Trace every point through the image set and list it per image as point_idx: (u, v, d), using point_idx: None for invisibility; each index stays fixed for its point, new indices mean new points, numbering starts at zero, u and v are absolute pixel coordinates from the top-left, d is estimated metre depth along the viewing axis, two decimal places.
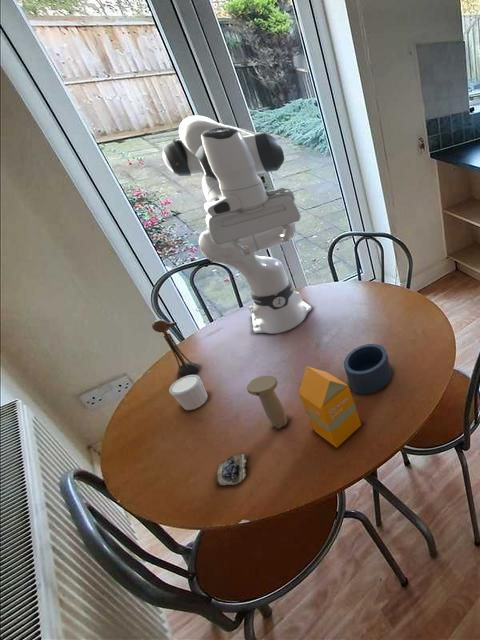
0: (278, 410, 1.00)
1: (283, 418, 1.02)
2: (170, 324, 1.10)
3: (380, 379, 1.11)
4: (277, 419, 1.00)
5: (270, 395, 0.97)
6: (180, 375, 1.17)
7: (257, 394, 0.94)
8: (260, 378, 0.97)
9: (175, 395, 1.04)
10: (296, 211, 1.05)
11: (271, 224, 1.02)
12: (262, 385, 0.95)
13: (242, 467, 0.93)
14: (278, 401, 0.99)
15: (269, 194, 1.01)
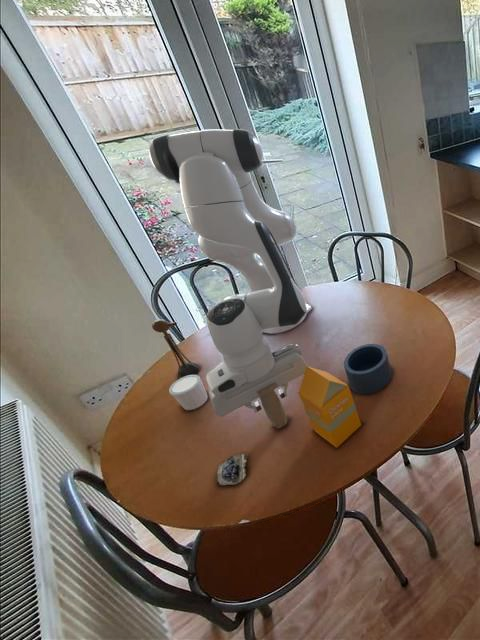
0: (278, 410, 1.00)
1: (283, 418, 1.02)
2: (170, 324, 1.10)
3: (380, 379, 1.11)
4: (277, 419, 1.00)
5: (270, 395, 0.97)
6: (180, 375, 1.17)
7: None
8: None
9: (175, 395, 1.04)
10: (303, 365, 1.00)
11: (277, 384, 0.97)
12: None
13: (242, 467, 0.93)
14: (278, 401, 0.99)
15: (276, 355, 0.95)
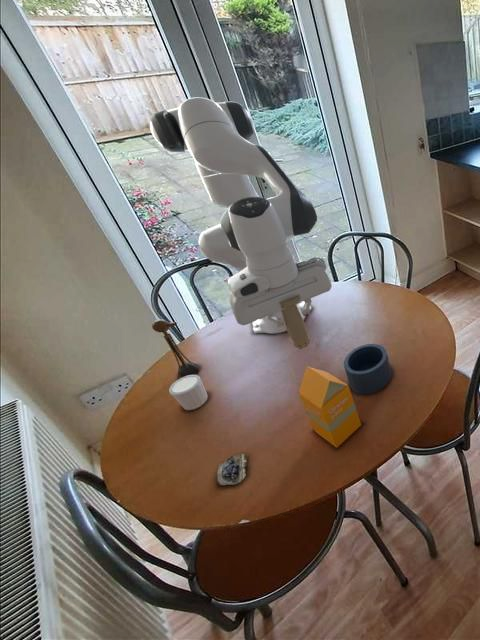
0: (301, 328, 0.95)
1: (305, 338, 0.97)
2: (170, 324, 1.10)
3: (380, 379, 1.11)
4: (299, 338, 0.95)
5: (293, 310, 0.92)
6: (180, 375, 1.17)
7: None
8: None
9: (175, 395, 1.04)
10: (327, 281, 0.95)
11: (300, 298, 0.92)
12: None
13: (242, 467, 0.93)
14: (301, 318, 0.94)
15: (300, 266, 0.90)
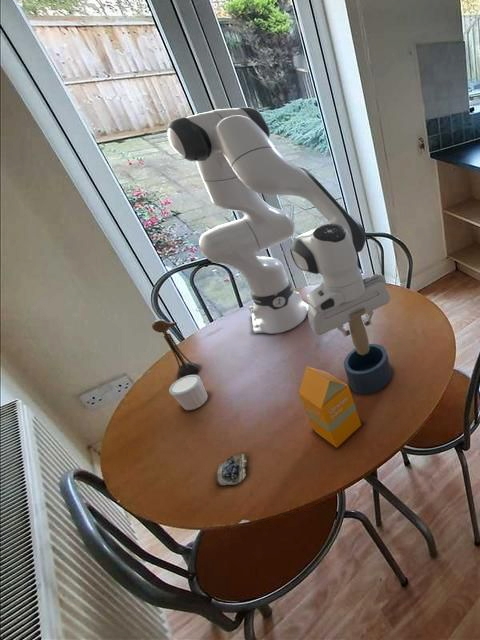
0: (364, 337, 1.07)
1: (367, 345, 1.09)
2: (170, 324, 1.10)
3: (380, 379, 1.11)
4: (362, 345, 1.07)
5: (359, 321, 1.04)
6: (180, 375, 1.17)
7: None
8: None
9: (175, 395, 1.04)
10: (387, 295, 1.07)
11: (365, 310, 1.04)
12: None
13: (242, 467, 0.93)
14: (364, 328, 1.07)
15: (365, 282, 1.02)
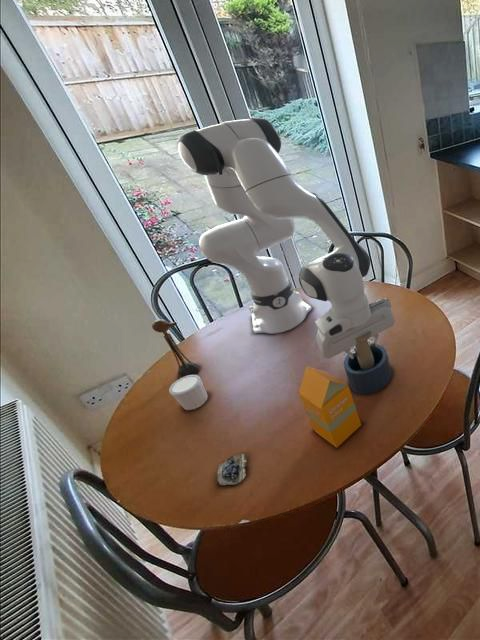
0: (370, 359, 1.11)
1: (373, 366, 1.13)
2: (170, 324, 1.10)
3: (380, 379, 1.11)
4: (368, 366, 1.12)
5: (365, 344, 1.08)
6: (180, 375, 1.17)
7: None
8: None
9: (175, 395, 1.04)
10: (392, 318, 1.11)
11: (371, 333, 1.08)
12: None
13: (242, 467, 0.93)
14: (370, 350, 1.11)
15: (371, 307, 1.07)
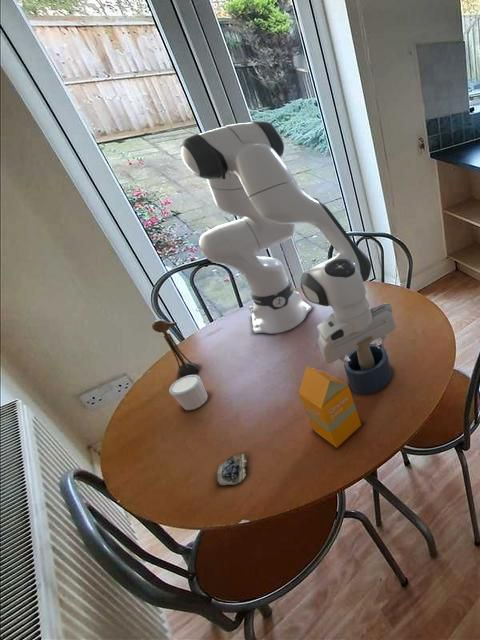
0: (371, 363, 1.12)
1: None
2: (170, 324, 1.10)
3: (380, 379, 1.11)
4: None
5: (366, 348, 1.09)
6: (180, 375, 1.17)
7: None
8: None
9: (175, 395, 1.04)
10: (393, 323, 1.12)
11: None
12: None
13: (242, 467, 0.93)
14: (371, 354, 1.12)
15: (373, 311, 1.07)
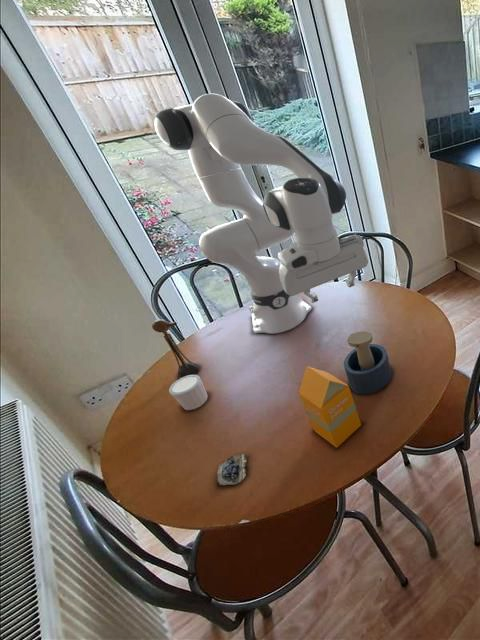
0: (371, 363, 1.12)
1: None
2: (170, 324, 1.10)
3: (380, 379, 1.11)
4: None
5: (366, 348, 1.09)
6: (180, 375, 1.17)
7: (357, 346, 1.07)
8: (357, 333, 1.09)
9: (175, 395, 1.04)
10: (365, 258, 1.03)
11: (341, 272, 0.99)
12: (360, 339, 1.07)
13: (242, 467, 0.93)
14: (371, 354, 1.12)
15: (341, 242, 0.98)
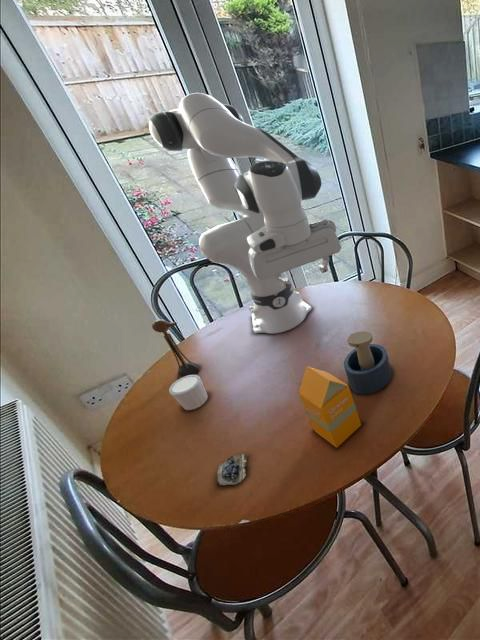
0: (371, 363, 1.12)
1: None
2: (170, 324, 1.10)
3: (380, 379, 1.11)
4: None
5: (366, 348, 1.09)
6: (180, 375, 1.17)
7: (357, 346, 1.07)
8: (357, 333, 1.09)
9: (175, 395, 1.04)
10: (337, 243, 1.02)
11: (313, 257, 0.99)
12: (360, 339, 1.07)
13: (242, 467, 0.93)
14: (371, 354, 1.12)
15: (312, 227, 0.98)
